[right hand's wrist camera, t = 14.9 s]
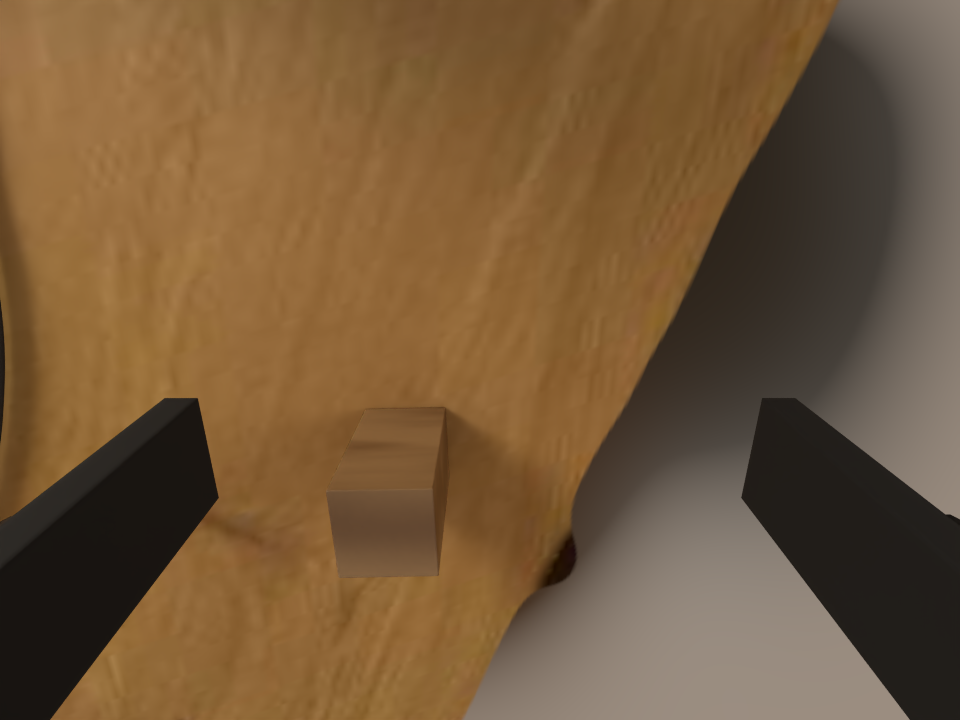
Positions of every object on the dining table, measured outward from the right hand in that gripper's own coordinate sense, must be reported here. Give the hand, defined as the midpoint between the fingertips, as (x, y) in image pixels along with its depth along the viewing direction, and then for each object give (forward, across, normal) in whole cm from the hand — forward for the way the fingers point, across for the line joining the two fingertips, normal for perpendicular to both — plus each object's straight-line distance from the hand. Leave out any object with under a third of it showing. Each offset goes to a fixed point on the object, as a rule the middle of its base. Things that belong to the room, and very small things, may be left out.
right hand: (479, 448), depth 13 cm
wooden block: (+18, +4, +10) cm, 21 cm away
